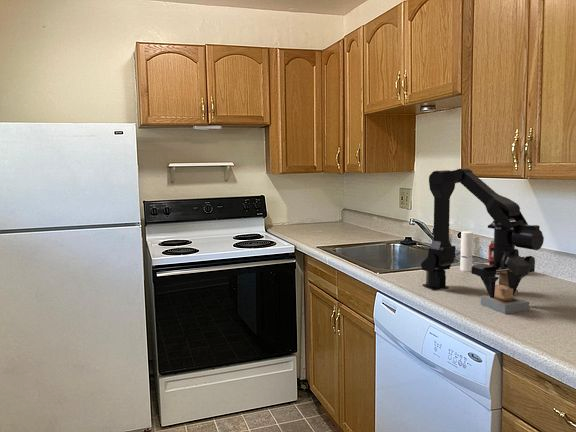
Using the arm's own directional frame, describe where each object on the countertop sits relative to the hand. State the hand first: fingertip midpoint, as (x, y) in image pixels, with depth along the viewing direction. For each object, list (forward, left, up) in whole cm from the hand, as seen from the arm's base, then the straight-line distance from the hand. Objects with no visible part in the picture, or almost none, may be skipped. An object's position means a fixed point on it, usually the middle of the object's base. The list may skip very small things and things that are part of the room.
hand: (502, 296), depth 145 cm
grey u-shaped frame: (0, 0, -3) cm, 3 cm away
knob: (-11, +12, -3) cm, 17 cm away
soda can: (-33, +29, -3) cm, 44 cm away
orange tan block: (0, 0, -3) cm, 3 cm away
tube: (-41, +21, -3) cm, 46 cm away
